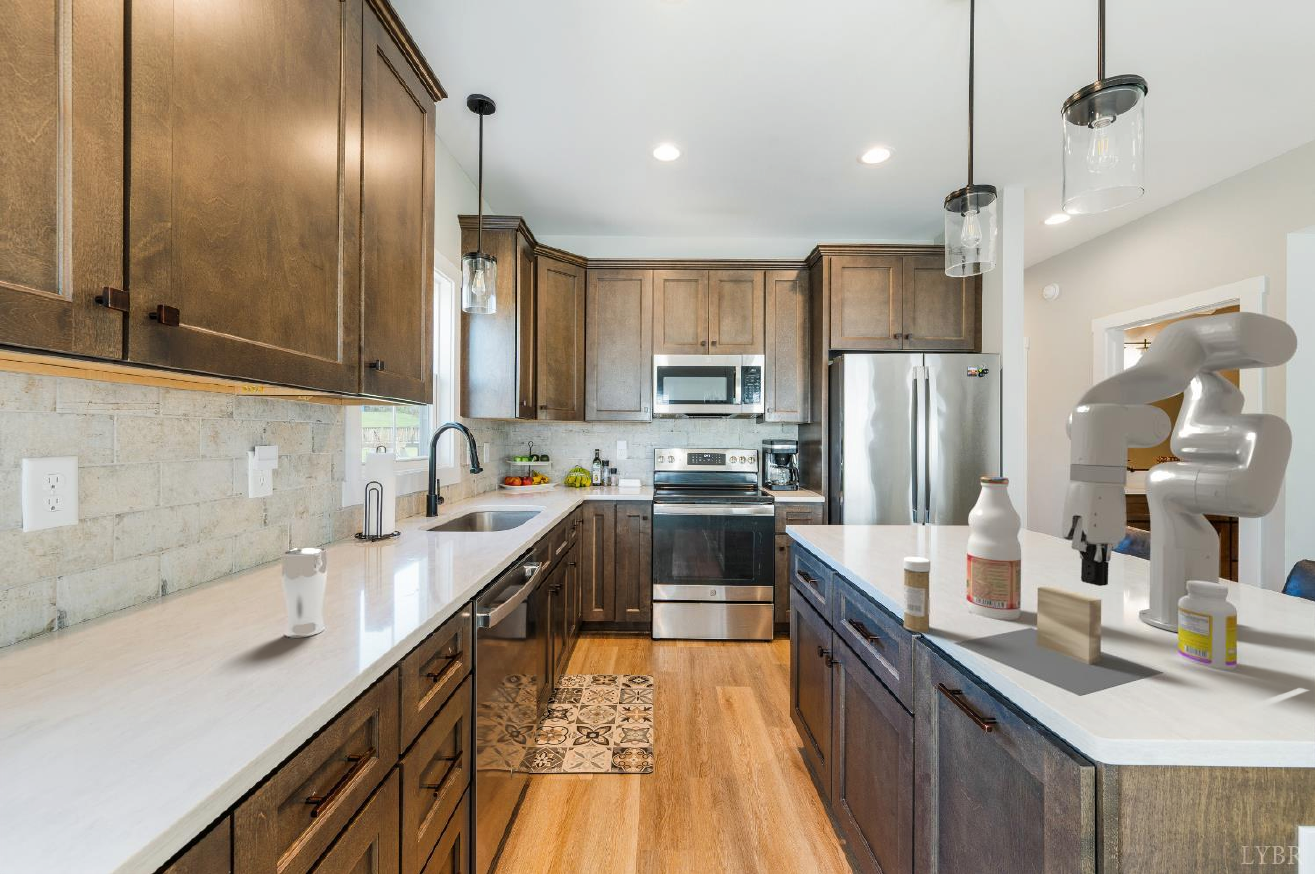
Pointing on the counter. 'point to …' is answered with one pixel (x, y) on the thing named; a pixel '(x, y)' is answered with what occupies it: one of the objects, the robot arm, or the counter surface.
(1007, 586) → the fruit juice
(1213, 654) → the supplement bottle
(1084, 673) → the rubber mat
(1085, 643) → the birch tile
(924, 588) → the sprinkles bottle
